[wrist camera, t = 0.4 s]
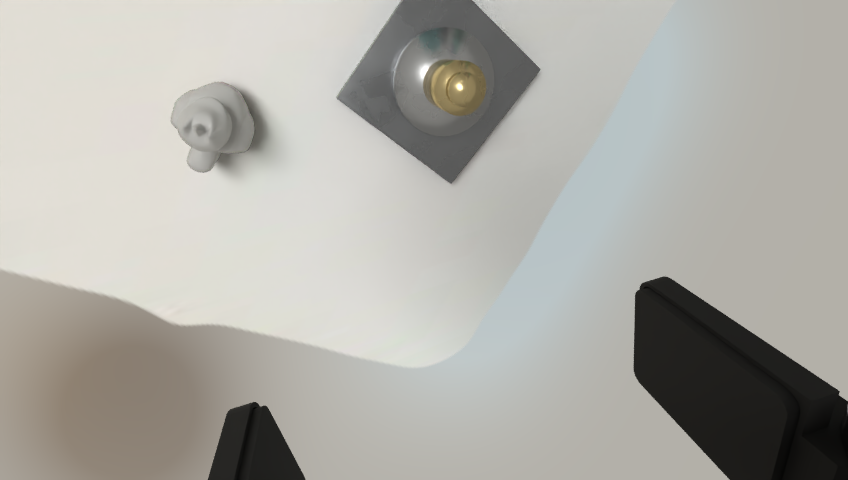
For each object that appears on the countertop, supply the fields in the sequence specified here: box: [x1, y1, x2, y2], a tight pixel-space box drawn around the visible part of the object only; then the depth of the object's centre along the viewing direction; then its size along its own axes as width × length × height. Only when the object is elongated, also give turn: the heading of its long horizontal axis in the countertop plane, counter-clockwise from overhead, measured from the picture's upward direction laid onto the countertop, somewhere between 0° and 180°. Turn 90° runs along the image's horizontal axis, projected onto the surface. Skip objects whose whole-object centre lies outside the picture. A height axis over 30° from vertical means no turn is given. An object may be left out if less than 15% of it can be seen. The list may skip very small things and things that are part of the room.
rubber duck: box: [171, 82, 255, 172], centre depth 29 cm, size 5×7×8 cm
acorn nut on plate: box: [336, 0, 540, 183], centre depth 31 cm, size 12×12×8 cm
